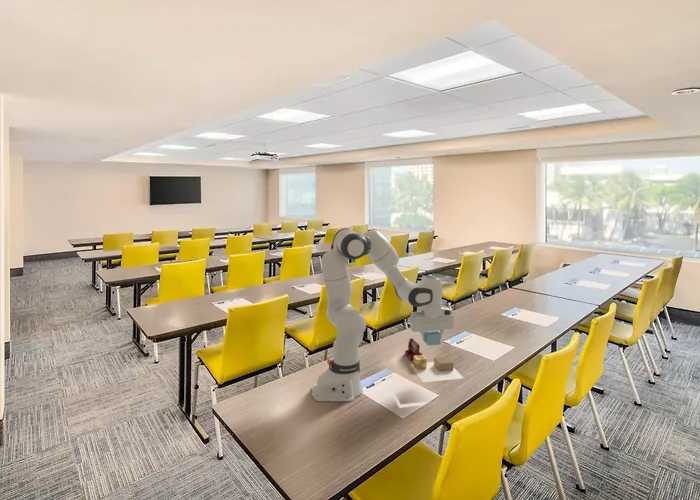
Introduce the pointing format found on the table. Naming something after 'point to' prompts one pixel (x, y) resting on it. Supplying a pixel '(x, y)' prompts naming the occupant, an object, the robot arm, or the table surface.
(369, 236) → the robot arm
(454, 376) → the board
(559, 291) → the table surface
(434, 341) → the teal block
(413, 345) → the toy fire truck
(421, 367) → the ochre block
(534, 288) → the table surface
